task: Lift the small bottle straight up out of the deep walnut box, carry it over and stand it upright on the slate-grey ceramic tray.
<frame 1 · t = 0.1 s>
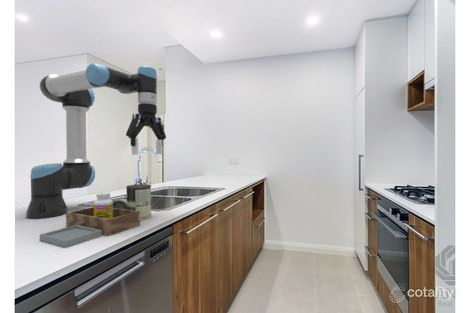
hand: (147, 154, 106), 28 cm above the worktop, fingers open, 13 cm apart
supplement bottle: (103, 226, 98), resting in walnut box
ceramic mug: (117, 216, 114), on the worktop
walnut box: (103, 226, 98), on the worktop
slate tray: (71, 238, 84), on the worktop
coffee can: (139, 217, 112), on the worktop
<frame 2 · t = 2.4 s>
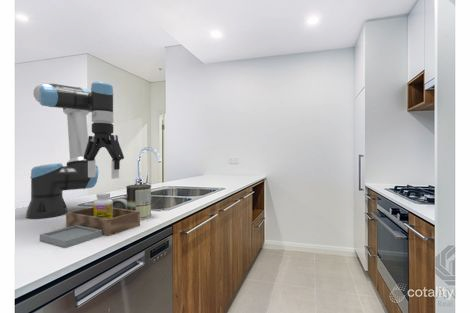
hand: (103, 177, 98), 19 cm above the worktop, fingers open, 13 cm apart
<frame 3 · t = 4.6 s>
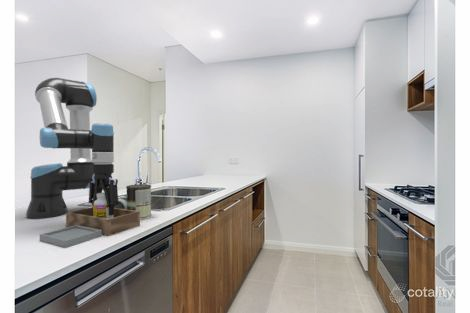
hand: (103, 222, 98), 2 cm above the worktop, fingers closed on supplement bottle, 7 cm apart
supplement bottle: (103, 226, 98), resting in walnut box, touching gripper
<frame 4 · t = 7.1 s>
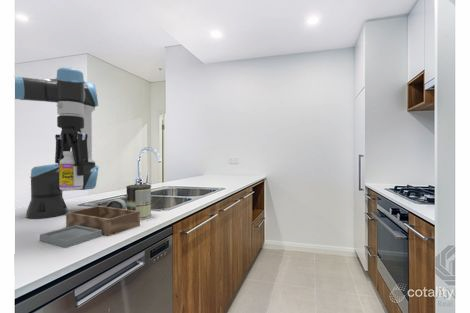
hand: (71, 185, 84), 18 cm above the worktop, fingers closed on supplement bottle, 7 cm apart
supplement bottle: (71, 190, 84), point 16 cm above the worktop, touching gripper
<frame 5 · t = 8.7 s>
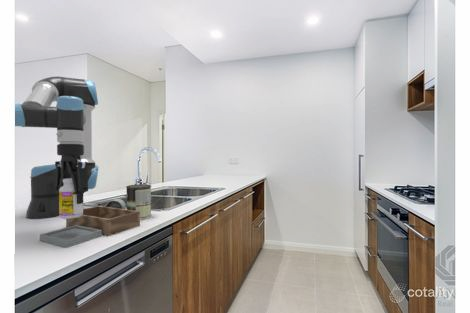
hand: (71, 212, 84), 9 cm above the worktop, fingers closed on supplement bottle, 7 cm apart
supplement bottle: (71, 217, 84), point 7 cm above the worktop, touching gripper
when the fingers open (3 cm above the worktop, at t = 10.1 s): supplement bottle stays where it is, resting on slate tray.
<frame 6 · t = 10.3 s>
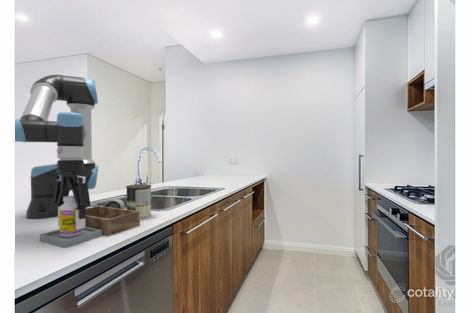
hand: (71, 226, 84), 4 cm above the worktop, fingers open, 9 cm apart
supplement bottle: (71, 235, 84), point 1 cm above the worktop, touching slate tray
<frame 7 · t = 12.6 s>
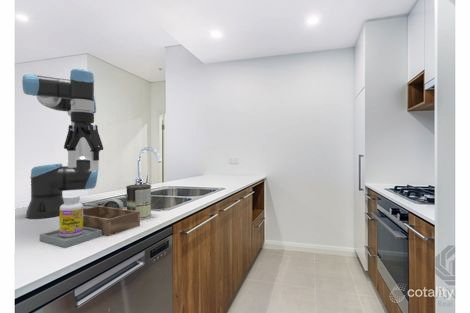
hand: (83, 168, 95), 23 cm above the worktop, fingers open, 13 cm apart
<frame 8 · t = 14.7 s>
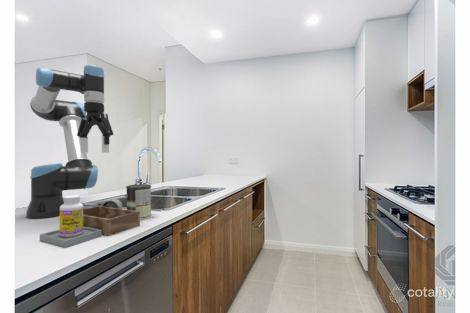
hand: (94, 152, 107), 29 cm above the worktop, fingers open, 13 cm apart
at the end: supplement bottle inside the target area on the slate tray (0.0 cm from its centre), point 1.0 cm above the slate tray's base; supplement bottle tilted 0°; the gripper is holding nothing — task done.
